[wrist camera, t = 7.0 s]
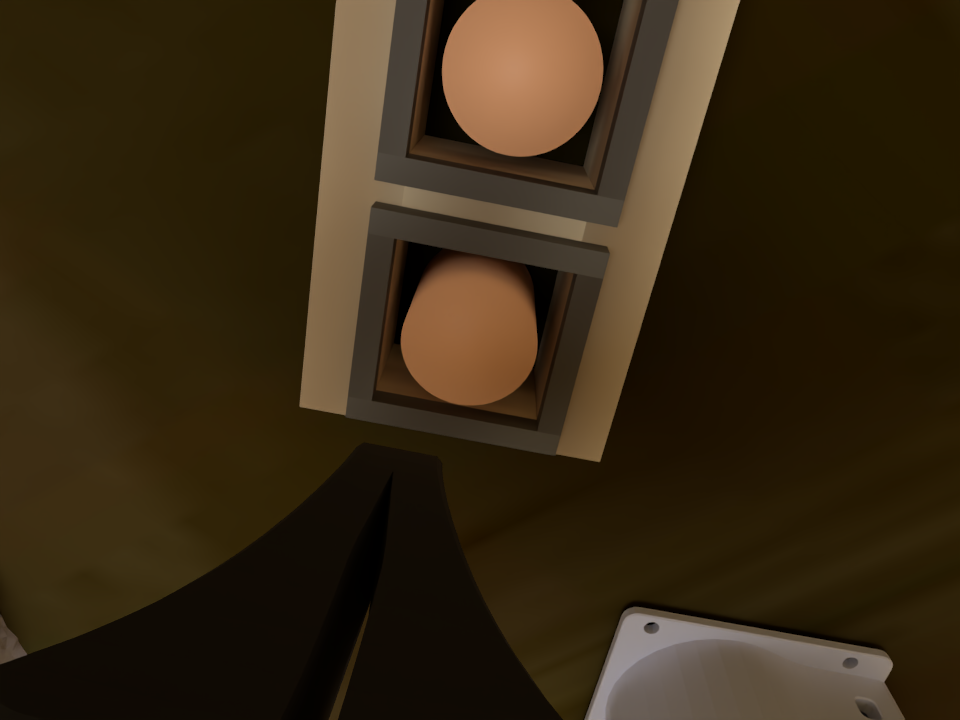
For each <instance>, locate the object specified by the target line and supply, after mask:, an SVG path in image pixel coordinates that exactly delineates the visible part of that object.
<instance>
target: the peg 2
mask: <svg viewBox="0 0 960 720" xmlns="http://www.w3.org/2000/svg"><path fill="white" fill-rule="evenodd" d="M537 344H538V340H537V325H536V311H535V296H534V286H533V282H532V278H531V276H530V273H529V271H528V269H527V268H526V266H525V265H524V264H523V263H518V262H513V261H508V260H502V259H497V258H492V257H487V256H482V255H477V254H472V253H466V252H461V251H456V250H451V249H446V248H444V249H442V250H441V251H440V252H438V253H437V254H436V255H435V256H434V257H433V258H432V259H431V260H430V262H429V263H428V264H427V266H426V268H425V270H424V271H423V274H422V277H421V279H420V282H419V284H418V287H417V290H416V292H415V295H414V298H413V300H412V303H411V305H410V308H409V311H408V313H407V316H406V318H405V321H404V324H403V328H402V332H401V350H402V354H403V358H404V361H405V364H406V366H407V368H408V370H409V372H410V373H411V375H412V376H413V378H414V379H415V380H416V381H417V382H418V383H419V385H420V386H422V387H423V388H424V389H425V390H426V391H428V392H429V393H431V394H432V395H434V396H436V397H438V398H440V399H442V400H444V401H447V402H450V403H454V404H459V405H483V404H488V403H492V402H495V401H497V400H500V399H502V398H504V397H506V396H508V395H509V394H511V393H512V392H514V391H515V390H516V389H517V388H518V387H519V386H520V385H521V384H522V383H523V382H524V381H525V380H526V378H527V377H528V375H529V374H530V372H531V370H532V368H533V366H534V363H535V359H536V355H537Z"/></svg>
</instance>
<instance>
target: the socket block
mask: <svg viewBox="0 0 960 720" xmlns="http://www.w3.org/2000/svg"><path fill="white" fill-rule="evenodd" d="M444 2H445V0H336V10H335V21H334V32H333V43H332V54H331V65H330V76H329V87H328V98H327V109H326V120H325V132H324V143H323V154H322V165H321V176H320V187H319V198H318V209H317V220H316V231H315V242H314V253H313V264H312V275H311V286H310V297H309V308H308V319H307V330H306V341H305V352H304V363H303V374H302V385H301V396H300V407H304V408H310V409H315V410H320V411H326V412H331V413H337V414H342V415H345V417H347V418H352V419H358V420H363V421H369V422H374V423H379V424H385V425H390V426H396V427H401V428H407V429H412V430H417V431H423V432H428V433H434V434H439V435H445V436H450V437H455V438H461V439H466V440H472V441H477V442H482V443H488V444H493V445H499V446H504V447H510V448H515V449H520V450H526V451H531V452H537V453H542V454H548V455H553V456H555V455H556V454H559V455H564V456H570V457H575V458H580V459H586V460H591V461H597V462H600V460H601V456H602V453H603V450H604V446H605V443H606V440H607V437H608V433H609V430H610V427H611V423H612V420H613V417H614V414H615V410H616V407H617V404H618V400H619V397H620V394H621V391H622V387H623V384H624V381H625V377H626V374H627V371H628V367H629V364H630V361H631V358H632V354H633V351H634V348H635V344H636V341H637V338H638V335H639V331H640V328H641V325H642V321H643V318H644V315H645V311H646V308H647V305H648V302H649V298H650V295H651V292H652V288H653V285H654V282H655V279H656V275H657V272H658V269H659V265H660V262H661V259H662V255H663V252H664V249H665V246H666V242H667V239H668V236H669V232H670V229H671V226H672V223H673V219H674V216H675V213H676V209H677V206H678V203H679V200H680V196H681V193H682V190H683V186H684V183H685V180H686V176H687V173H688V170H689V167H690V163H691V160H692V157H693V153H694V150H695V147H696V144H697V140H698V137H699V134H700V130H701V127H702V124H703V120H704V117H705V114H706V111H707V107H708V104H709V101H710V97H711V94H712V91H713V88H714V84H715V81H716V78H717V74H718V71H719V68H720V65H721V61H722V58H723V55H724V51H725V48H726V45H727V41H728V38H729V35H730V32H731V28H732V25H733V22H734V18H735V15H736V12H737V9H738V5H739V2H740V0H624V1H623V5H622V9H621V13H620V17H619V21H618V26H617V30H616V34H615V38H614V42H613V46H612V50H611V54H610V59H609V63H608V67H607V71H606V75H605V79H604V83H603V87H602V92H601V96H600V100H599V104H598V108H597V112H596V116H595V120H594V125H593V129H592V133H591V137H590V141H589V145H588V149H587V153H586V158H585V162H584V166H578V165H573V164H568V163H563V162H558V161H553V160H548V159H543V158H538V157H533V156H526V157H516V156H508V155H503V154H500V153H496V152H494V151H491V150H489V149H487V148H485V147H483V146H478V145H473V144H468V143H463V142H458V141H453V140H448V139H443V138H438V137H433V136H428V135H425V130H426V123H427V117H428V110H429V103H430V96H431V89H432V83H433V76H434V69H435V62H436V56H437V49H438V42H439V35H440V29H441V22H442V15H443V8H444ZM409 241H410V242H415V243H420V244H425V245H430V246H435V247H441V248H446V249H451V250H456V251H461V252H466V253H472V254H477V255H482V256H487V257H492V258H497V259H502V260H508V261H513V262H518V263H523V264H528V265H533V266H539V267H544V268H549V269H554V270H558V273H557V277H556V281H555V286H554V290H553V294H552V298H551V302H550V306H549V310H548V314H547V319H546V323H545V327H544V331H543V335H542V339H541V343H540V348H539V352H538V356H537V360H536V364H535V368H534V370H531V372H530V374H529V375H528V377H527V378H526V380H525V381H524V382H523V383H522V384H521V385H520V386H519V387H518V388H517V389H516V390H515V391H514V392H512V393H511V394H509V395H508V396H506V397H504V398H502V399H500V400H497V401H495V402H492V403H488V404H483V405H459V404H454V403H450V402H447V401H444V400H442V399H440V398H438V397H436V396H434V395H432V394H431V393H429V392H428V391H426V390H425V389H424V388H423V387H422V386H420V385H419V383H418V382H417V381H416V380H415V379H414V378H413V376H412V375H411V373H410V372H409V370H408V368H407V366H406V364H405V361H404V358H403V354H402V350H401V345H400V344H395V343H394V340H395V333H396V326H397V319H398V313H399V306H400V299H401V292H402V286H403V279H404V272H405V265H406V259H407V252H408V245H409Z"/></svg>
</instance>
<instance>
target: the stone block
mask: <svg viewBox="0 0 960 720" xmlns="http://www.w3.org/2000/svg"><path fill="white" fill-rule="evenodd" d="M25 655H27V653H26V652H25V651H24V649H23V648H22V647H21V645H20V644H19V642H18V638H17V637H16V636H15V635H14V634H13V633H12V632H11V631H10V630H9V629H8V628H7V627H6V625H5V622H4V620H3V618H2V616H1V615H0V664H2V663H5V662H8V661H11V660H14V659H17V658H20V657H22V656H25Z"/></svg>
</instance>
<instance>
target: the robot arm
mask: <svg viewBox="0 0 960 720" xmlns="http://www.w3.org/2000/svg"><path fill="white" fill-rule="evenodd" d="M370 601H371V602H370ZM369 604H370V610H369V617H368V620H367V624H366V627H365V631H364V634H363V638H362V641H361V645H360V648H359V652H358V655H357V659H356V662H355V665H354V669H353V672H352V676H351V679H350V682H349V686H348V689H347V692H346V696H345V699H344V702H343V705H342V708H341V712H340V715H339V718H338V720H562V718H561V717H560V716H559V715H558V713H557V712H556V711H555V710H554V708H553V707H552V706H551V705H550V703H549V702H548V701H547V700H546V698H545V697H544V695H543V694H542V692H541V691H540V690H539V688H538V687H537V685H536V684H535V682H534V681H533V680H532V678H531V677H530V675H529V674H528V672H527V671H526V669H525V668H524V667H523V665H522V664H521V662H520V661H519V659H518V658H517V657H516V655H515V654H514V652H513V651H512V649H511V647H510V646H509V644H508V642H507V641H506V639H505V637H504V636H503V634H502V632H501V630H500V629H499V627H498V625H497V624H496V622H495V620H494V618H493V616H492V614H491V612H490V611H489V609H488V607H487V605H486V603H485V601H484V599H483V597H482V595H481V593H480V591H479V589H478V586H477V584H476V582H475V580H474V577H473V575H472V573H471V570H470V568H469V566H468V563H467V561H466V558H465V556H464V553H463V550H462V548H461V545H460V542H459V539H458V536H457V533H456V530H455V527H454V524H453V521H452V517H451V514H450V510H449V506H448V502H447V498H446V493H445V488H444V483H443V475H442V463H441V461H440V460H439V459H438V457H437V456H432V455H426V454H421V453H416V452H411V451H406V450H400V449H395V448H390V447H385V446H380V445H374V444H369V443H363V444H361V445H359V446H358V447H356V449H355V450H354V451H353V452H352V454H351V455H350V456H349V457H348V458H347V459H346V461H345V462H344V463H343V464H342V465H341V466H340V467H339V468H338V469H337V470H336V471H335V472H334V473H333V474H332V475H331V476H330V477H329V478H328V479H327V480H326V481H325V482H324V483H323V484H322V485H321V486H320V487H319V488H318V489H317V490H316V491H315V492H314V493H313V494H312V495H310V496H309V497H308V498H307V499H306V500H305V501H304V502H303V503H302V504H301V505H300V506H298V507H297V508H296V509H295V510H294V511H293V512H291V513H290V514H289V515H288V516H286V517H285V518H284V519H283V520H281V521H280V522H279V523H278V524H276V525H275V526H274V527H273V528H271V529H270V530H269V531H268V532H267V533H265V534H264V535H263V536H261V537H260V538H259V539H257V540H256V541H255V542H253V543H252V544H250V545H249V546H248V547H246V548H245V549H243V550H242V551H241V552H239V553H238V554H236V555H235V556H233V557H232V558H230V559H229V560H227V561H226V562H224V563H223V564H221V565H219V566H218V567H216V568H215V569H213V570H212V571H210V572H208V573H207V574H205V575H203V576H201V577H200V578H198V579H196V580H194V581H193V582H191V583H189V584H188V585H186V586H184V587H182V588H181V589H179V590H177V591H175V592H174V593H172V594H170V595H168V596H166V597H164V598H162V599H161V600H159V601H157V602H155V603H153V604H151V605H149V606H146V607H144V608H142V609H140V610H138V611H136V612H134V613H132V614H129V615H127V616H125V617H123V618H121V619H118V620H116V621H114V622H111V623H109V624H107V625H104V626H102V627H100V628H97V629H95V630H93V631H90V632H88V633H85V634H83V635H80V636H78V637H75V638H73V639H70V640H67V641H64V642H62V643H59V644H56V645H53V646H50V647H48V648H45V649H42V650H39V651H36V652H34V653H31V654H28V655H25V656H22V657H20V658H17V659H14V660H11V661H8V662H5V663H2V664H0V720H328V719H329V717H330V714H331V711H332V708H333V705H334V703H335V700H336V697H337V694H338V691H339V689H340V686H341V683H342V680H343V677H344V675H345V672H346V669H347V666H348V663H349V661H350V658H351V655H352V652H353V649H354V647H355V644H356V641H357V638H358V635H359V632H360V630H361V627H362V624H363V621H364V618H365V615H366V613H367V610H368V607H369ZM649 622H655V624H653V625H646V624H647V623H649ZM847 658H849V659H847ZM845 659H846V660H845ZM892 667H893V663H892V661H891V659H890V657H889V656H888V654H887V653H886V652H885V651H882V650H879V649H873V648H867V647H862V646H856V645H851V644H845V643H839V642H834V641H828V640H822V639H817V638H811V637H806V636H800V635H794V634H789V633H783V632H777V631H772V630H766V629H760V628H755V627H749V626H744V625H738V624H732V623H727V622H721V621H715V620H710V619H704V618H699V617H693V616H687V615H682V614H676V613H670V612H665V611H659V610H654V609H648V608H642V607H632V608H628V609H627V610H626V611H624V612H623V614H622V616H621V618H620V621H619V624H618V627H617V630H616V632H615V635H614V638H613V641H612V644H611V646H610V649H609V652H608V655H607V658H606V660H605V663H604V666H603V669H602V672H601V674H600V677H599V680H598V683H597V686H596V688H595V691H594V694H593V697H592V700H591V702H590V705H589V708H588V711H587V714H586V716H585V719H584V720H905V718H904V716H903V715H902V713H901V711H900V709H899V708H898V706H897V704H896V702H895V700H894V699H893V697H892V695H891V693H890V692H889V690H888V688H887V686H886V684H885V683H884V682H885V680H886V678H887V677H888V675H889V673H890V671H891V670H892Z"/></svg>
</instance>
